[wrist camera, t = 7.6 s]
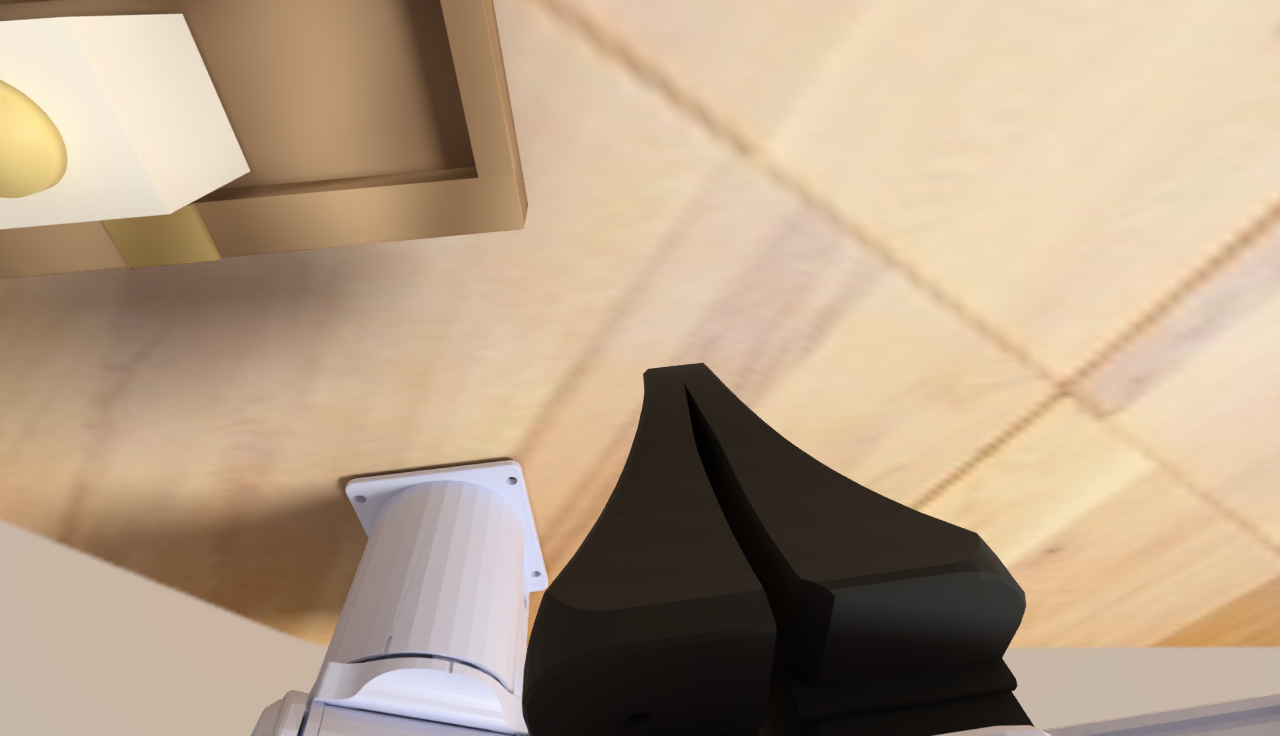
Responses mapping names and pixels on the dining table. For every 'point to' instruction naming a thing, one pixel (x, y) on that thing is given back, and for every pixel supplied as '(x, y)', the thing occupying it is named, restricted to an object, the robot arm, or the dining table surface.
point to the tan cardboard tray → (318, 133)
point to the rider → (107, 120)
